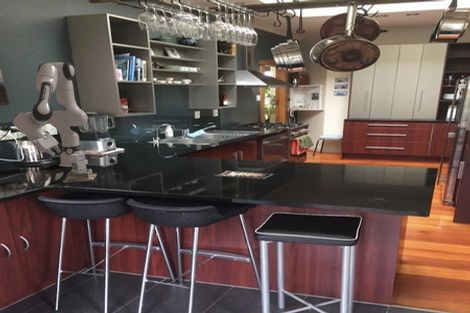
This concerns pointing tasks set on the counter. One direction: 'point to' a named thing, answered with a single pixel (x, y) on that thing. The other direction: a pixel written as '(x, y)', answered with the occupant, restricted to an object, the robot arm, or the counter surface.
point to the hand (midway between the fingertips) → (57, 153)
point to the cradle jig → (80, 176)
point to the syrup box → (78, 163)
